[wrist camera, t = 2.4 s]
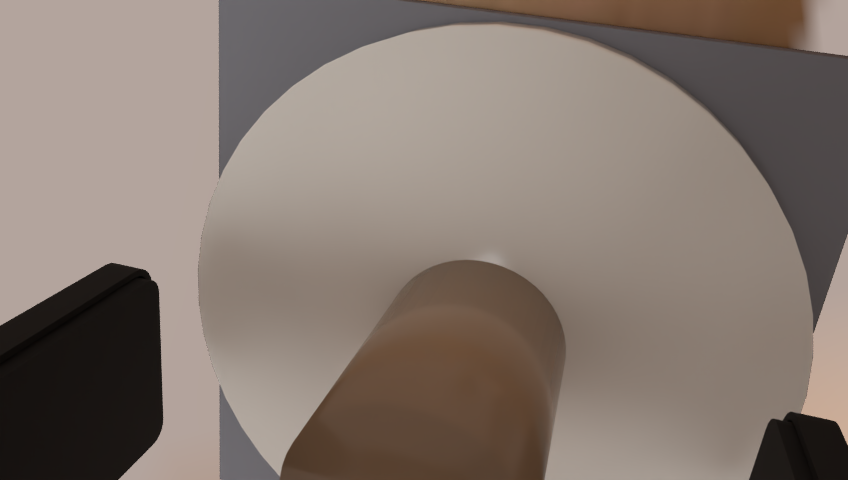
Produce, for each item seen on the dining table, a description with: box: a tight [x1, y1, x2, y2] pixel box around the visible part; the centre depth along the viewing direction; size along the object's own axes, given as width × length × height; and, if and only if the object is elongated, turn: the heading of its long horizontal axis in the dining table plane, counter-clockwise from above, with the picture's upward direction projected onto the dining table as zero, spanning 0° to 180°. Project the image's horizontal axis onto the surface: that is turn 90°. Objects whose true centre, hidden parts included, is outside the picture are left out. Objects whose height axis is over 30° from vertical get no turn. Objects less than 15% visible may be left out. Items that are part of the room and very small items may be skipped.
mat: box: [219, 0, 848, 480], centre depth 14 cm, size 11×11×1 cm
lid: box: [198, 22, 813, 480], centre depth 11 cm, size 11×11×6 cm
